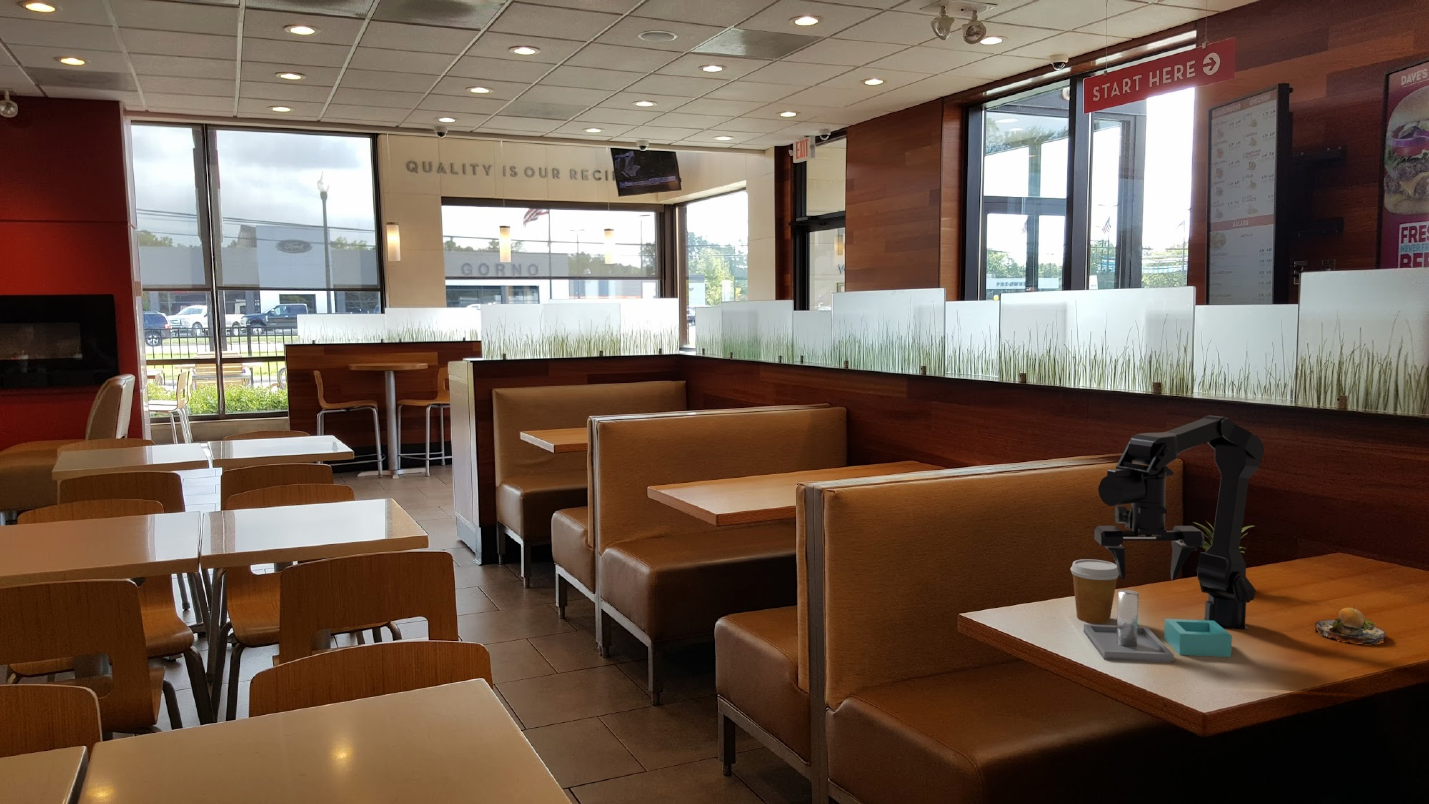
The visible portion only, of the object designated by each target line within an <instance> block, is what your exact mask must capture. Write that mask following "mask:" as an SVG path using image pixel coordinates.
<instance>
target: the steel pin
mask: <svg viewBox="0 0 1429 804" xmlns="http://www.w3.org/2000/svg"><path fill="white" fill-rule="evenodd" d="M1139 594H1140V592H1137V591H1136V590H1130V589H1120V590H1118V591H1117V617H1116V618H1117V619H1116V626H1117V642H1116V643H1117V644H1118V645H1120V646H1124V647H1135V646H1137V631H1138V623H1139V622H1138V621H1139V602H1140V601H1139V600H1140V598H1139V597H1140V595H1139Z"/></svg>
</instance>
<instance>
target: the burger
mask: <svg viewBox="0 0 1429 804" xmlns="http://www.w3.org/2000/svg"><path fill="white" fill-rule="evenodd" d="M1355 604H1356V603H1355ZM1355 604H1353V606H1355ZM1365 619H1366V620H1365ZM1371 620H1372V618H1370V617H1369V618H1365V615H1364V614H1363V613H1362V612H1361V611H1360V610H1358V609H1356V608H1355V607H1344V608H1342V609H1340V611H1339V612H1338V618H1335V619H1322V620H1317V621H1315V622H1314V630H1315V631H1318V632H1317V633H1318V635H1319V634H1320V635H1322V636H1321V637H1323V636H1326V637H1325V638H1329V639H1331V638H1332V639H1335V641H1336V640H1339V641H1346V643H1350V644H1351V643H1355V644H1354V645H1356V643H1363V644H1377V643H1379V642H1380V641H1382V640H1383V639H1384V638H1385V637H1386V636H1387V632H1386V631H1385V630H1384V629H1382V628H1381V627H1378V626H1376V625H1377V622H1373V621H1371ZM1315 631H1314V632H1315ZM1320 635H1319V636H1320Z"/></svg>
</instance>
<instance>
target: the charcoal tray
mask: <svg viewBox="0 0 1429 804" xmlns="http://www.w3.org/2000/svg"><path fill="white" fill-rule="evenodd" d="M1083 633H1084V635H1085V636H1086V637H1087V639H1088V640H1089V641H1090V643H1091V644H1092V646H1093V647H1094V648H1095V649H1096V650H1097V652H1098V653H1099V655H1100V656H1101V657H1102V659H1103V660H1104V661H1121V662H1123V661H1124V662H1126V661H1127V662H1146V663H1147V662H1148V663H1149V662H1150V663H1166V664H1167V663H1170V664H1171V663H1174V660H1175V659H1174V655H1175V654H1174V653H1173V652H1172V651H1171V650H1170V649H1169V648H1168V647H1167V646H1166V645H1165V644H1164V643H1163V642H1162V641H1161V640H1160V638H1159V637H1158V636H1156V634H1155V633H1154V632H1152V630H1151V629H1150V628H1148V626H1138V631H1137V646H1135V647H1124V646H1120V645H1118V644H1117V643H1116V642H1117V625H1113V624H1112V625H1109V624H1108V625H1107V624H1090V623H1088V624H1086V623H1085V624H1084V623H1083Z"/></svg>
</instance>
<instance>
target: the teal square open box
mask: <svg viewBox="0 0 1429 804" xmlns="http://www.w3.org/2000/svg"><path fill="white" fill-rule="evenodd" d="M1163 632H1164V635H1163V639H1164V641H1166V643H1167V644H1168V645H1170V647H1171V648H1172V649H1173V650H1174V652H1176V653H1177V654H1178V655H1179V656H1194V657H1195V656H1198V657H1220V658H1222V657H1223V658H1232V643H1233V635H1232V634H1231V633H1230V632H1228V631H1227V629H1223V628H1222V627H1221V626H1220V625H1219V624H1217V623H1216V622H1215V621H1211V620H1205V619H1184V618H1183V619H1181V618H1180V619H1179V618H1177V619H1176V618H1164V631H1163Z"/></svg>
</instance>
